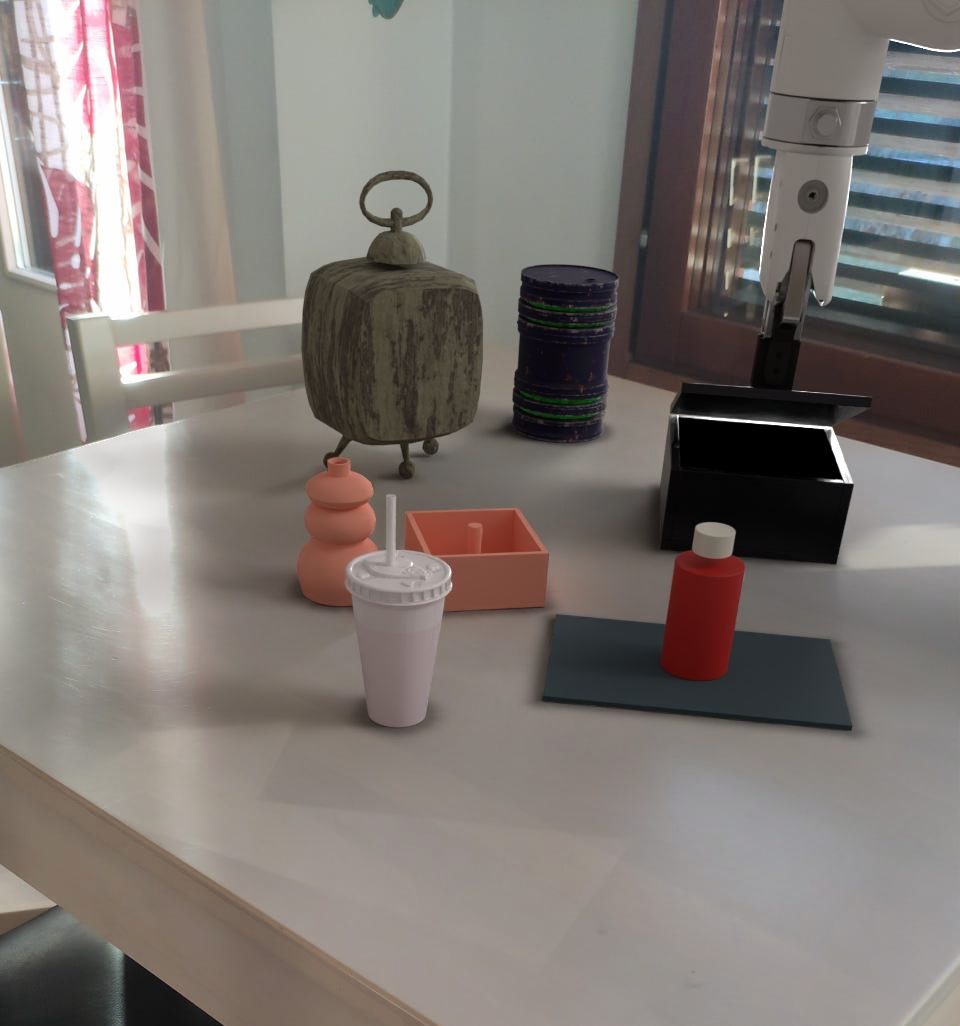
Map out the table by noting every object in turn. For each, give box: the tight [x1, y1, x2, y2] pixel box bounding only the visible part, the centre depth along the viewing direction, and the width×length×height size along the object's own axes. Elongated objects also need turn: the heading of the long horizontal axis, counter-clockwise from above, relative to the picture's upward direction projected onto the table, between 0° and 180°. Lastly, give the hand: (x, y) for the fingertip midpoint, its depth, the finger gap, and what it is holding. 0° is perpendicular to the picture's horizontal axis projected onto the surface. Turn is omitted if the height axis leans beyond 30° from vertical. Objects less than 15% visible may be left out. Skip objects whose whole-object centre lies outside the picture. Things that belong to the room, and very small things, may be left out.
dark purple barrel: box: [511, 263, 620, 443], centre depth 128 cm, size 10×10×15 cm
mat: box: [541, 613, 853, 732], centre depth 87 cm, size 20×13×1 cm, turn 83°
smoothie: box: [345, 493, 452, 728], centre depth 76 cm, size 6×6×14 cm
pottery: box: [296, 456, 550, 612], centre depth 94 cm, size 18×10×10 cm, turn 102°
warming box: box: [659, 413, 855, 565], centre depth 109 cm, size 16×15×7 cm
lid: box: [669, 381, 873, 428], centre depth 105 cm, size 16×15×1 cm
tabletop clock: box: [300, 169, 484, 480], centre depth 111 cm, size 14×9×25 cm, turn 122°
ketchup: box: [660, 522, 746, 681], centre depth 84 cm, size 5×5×10 cm
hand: (770, 389), depth 100 cm, fingers closed
